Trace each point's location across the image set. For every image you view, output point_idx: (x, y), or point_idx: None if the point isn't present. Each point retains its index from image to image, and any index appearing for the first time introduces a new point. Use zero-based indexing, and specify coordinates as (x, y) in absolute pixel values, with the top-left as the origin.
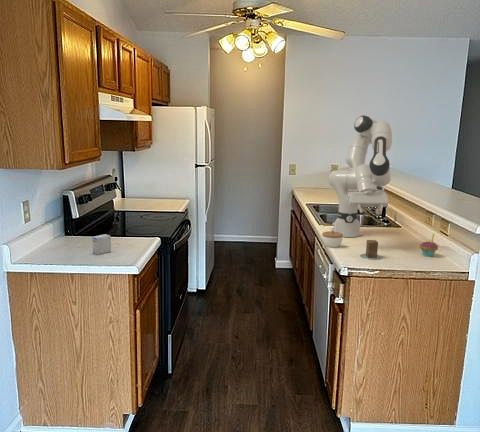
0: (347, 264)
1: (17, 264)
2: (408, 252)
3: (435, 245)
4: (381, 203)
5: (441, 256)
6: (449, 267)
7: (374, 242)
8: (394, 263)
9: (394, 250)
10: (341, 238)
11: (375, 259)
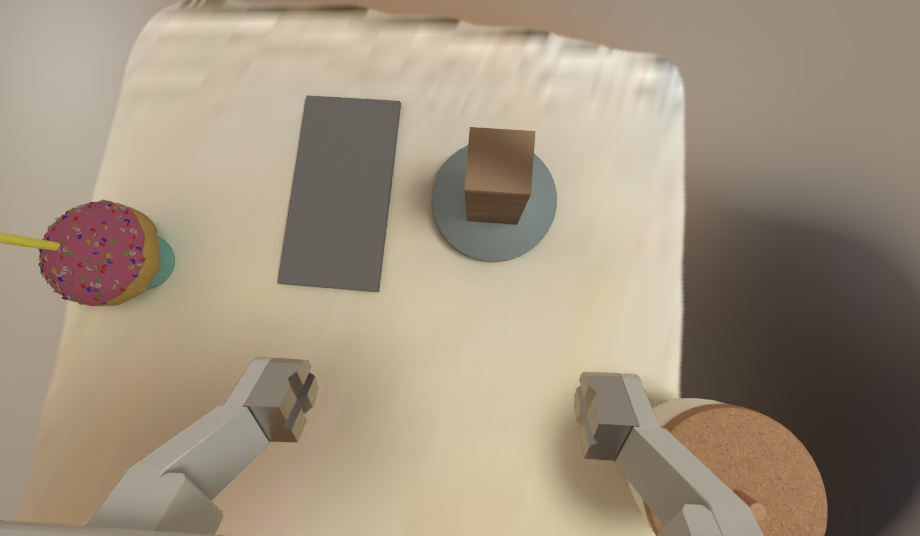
0: (650, 104)
1: None
2: (227, 324)
3: (63, 215)
4: (98, 527)
5: None
6: (168, 63)
7: (495, 129)
8: (401, 121)
9: None
10: None
11: None
